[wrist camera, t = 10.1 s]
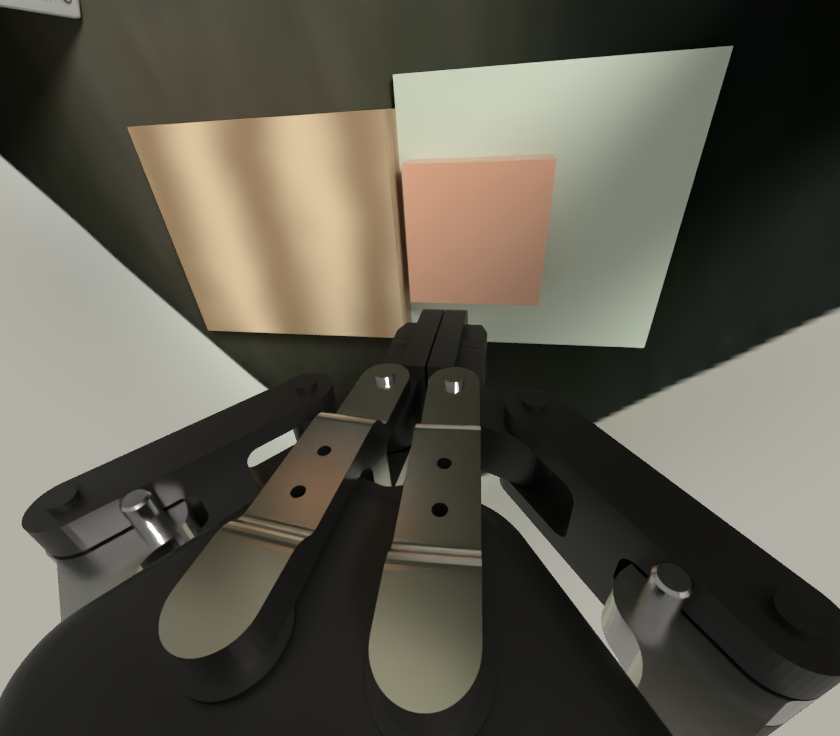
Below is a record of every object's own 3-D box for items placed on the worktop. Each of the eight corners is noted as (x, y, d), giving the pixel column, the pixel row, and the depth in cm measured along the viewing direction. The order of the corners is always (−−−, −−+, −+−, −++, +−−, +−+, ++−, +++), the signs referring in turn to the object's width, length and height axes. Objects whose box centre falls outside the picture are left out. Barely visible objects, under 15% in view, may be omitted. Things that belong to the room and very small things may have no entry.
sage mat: (729, 46, 18) (733, 45, 18) (642, 344, 27) (644, 347, 27) (394, 74, 21) (392, 74, 21) (414, 336, 30) (413, 338, 30)
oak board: (397, 108, 22) (383, 109, 20) (412, 318, 29) (404, 338, 27) (164, 124, 25) (127, 127, 22) (231, 312, 32) (208, 330, 30)
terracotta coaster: (552, 154, 22) (556, 159, 20) (536, 291, 26) (538, 305, 24) (409, 159, 23) (401, 164, 21) (417, 288, 28) (410, 302, 26)
